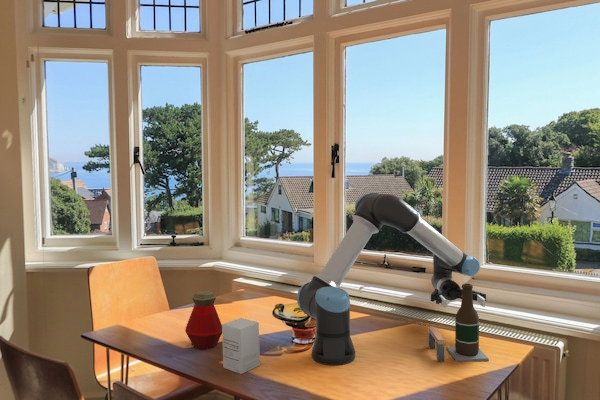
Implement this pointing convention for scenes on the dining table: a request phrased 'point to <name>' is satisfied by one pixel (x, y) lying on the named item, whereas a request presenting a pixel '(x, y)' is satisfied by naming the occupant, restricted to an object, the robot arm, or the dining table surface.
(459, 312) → the beer bottle
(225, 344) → the supplement box
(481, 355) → the grey mat
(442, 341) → the hurdle bar
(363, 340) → the dining table surface
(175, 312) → the dining table surface
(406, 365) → the dining table surface
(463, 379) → the dining table surface
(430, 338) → the hurdle posts
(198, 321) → the red faceted jar
